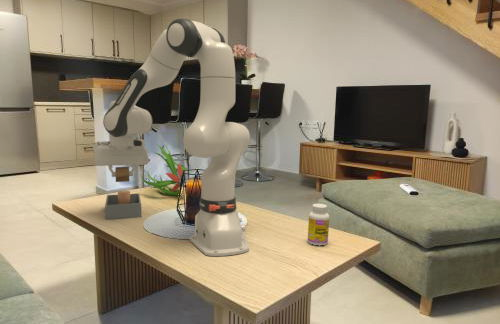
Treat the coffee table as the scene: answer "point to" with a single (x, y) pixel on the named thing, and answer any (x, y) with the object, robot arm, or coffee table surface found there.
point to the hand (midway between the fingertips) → (122, 176)
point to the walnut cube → (122, 174)
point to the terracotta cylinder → (123, 197)
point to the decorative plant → (173, 176)
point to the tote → (122, 207)
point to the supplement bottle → (318, 225)
